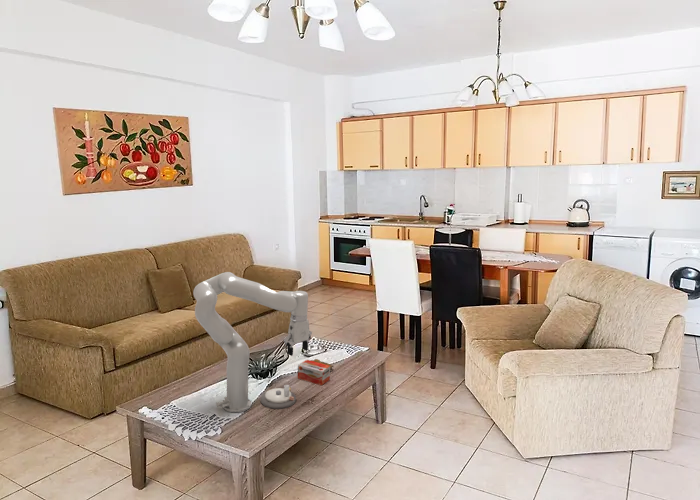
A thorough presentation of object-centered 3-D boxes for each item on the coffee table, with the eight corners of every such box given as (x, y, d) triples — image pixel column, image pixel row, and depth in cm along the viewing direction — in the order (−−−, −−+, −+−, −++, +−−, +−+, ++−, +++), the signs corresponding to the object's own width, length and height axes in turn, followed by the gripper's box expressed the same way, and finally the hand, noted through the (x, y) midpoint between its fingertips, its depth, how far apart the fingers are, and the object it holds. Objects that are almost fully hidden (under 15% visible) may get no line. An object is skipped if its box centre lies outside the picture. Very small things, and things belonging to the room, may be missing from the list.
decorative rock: (301, 369, 278) (322, 378, 270) (301, 362, 277) (323, 370, 269) (314, 361, 287) (336, 370, 279) (315, 355, 286) (336, 363, 278)
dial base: (272, 412, 230) (272, 404, 229) (254, 398, 242) (254, 390, 241) (302, 402, 240) (302, 394, 239) (283, 389, 252) (283, 382, 252)
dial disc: (260, 399, 237) (260, 386, 236) (273, 389, 248) (273, 376, 247) (287, 406, 233) (287, 392, 231) (299, 394, 244) (299, 382, 243)
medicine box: (297, 378, 265) (297, 364, 264) (305, 373, 272) (306, 359, 271) (322, 386, 258) (322, 371, 257) (330, 380, 265) (330, 365, 264)
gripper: (291, 323, 231) (289, 359, 234) (317, 315, 244) (316, 350, 247) (279, 319, 236) (278, 354, 239) (306, 312, 249) (305, 345, 252)
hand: (297, 352), depth 243 cm, fingers open, 9 cm apart
